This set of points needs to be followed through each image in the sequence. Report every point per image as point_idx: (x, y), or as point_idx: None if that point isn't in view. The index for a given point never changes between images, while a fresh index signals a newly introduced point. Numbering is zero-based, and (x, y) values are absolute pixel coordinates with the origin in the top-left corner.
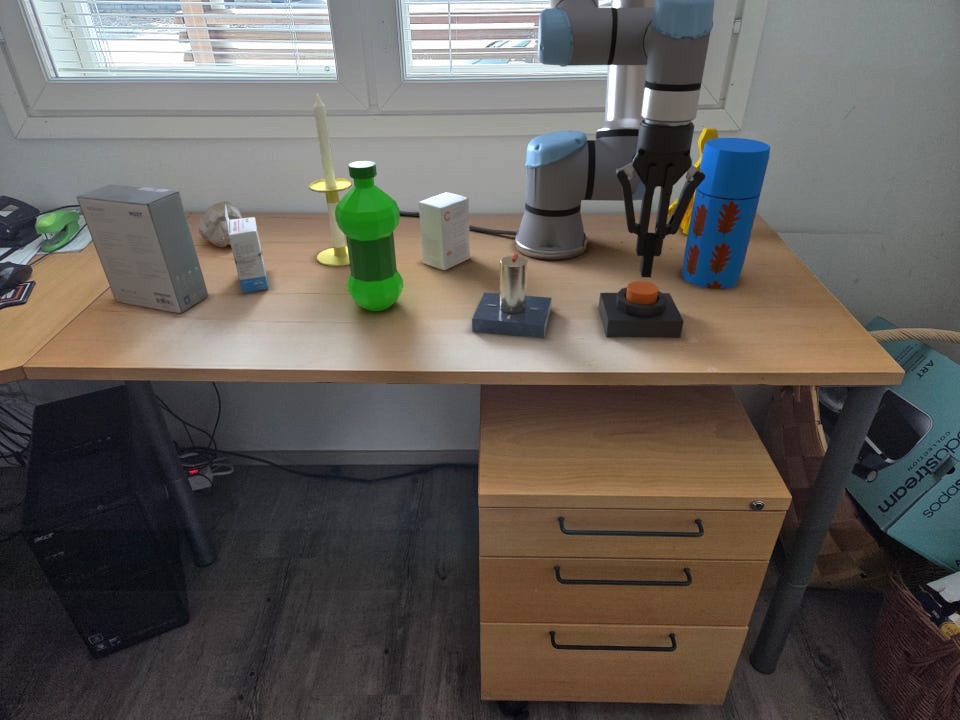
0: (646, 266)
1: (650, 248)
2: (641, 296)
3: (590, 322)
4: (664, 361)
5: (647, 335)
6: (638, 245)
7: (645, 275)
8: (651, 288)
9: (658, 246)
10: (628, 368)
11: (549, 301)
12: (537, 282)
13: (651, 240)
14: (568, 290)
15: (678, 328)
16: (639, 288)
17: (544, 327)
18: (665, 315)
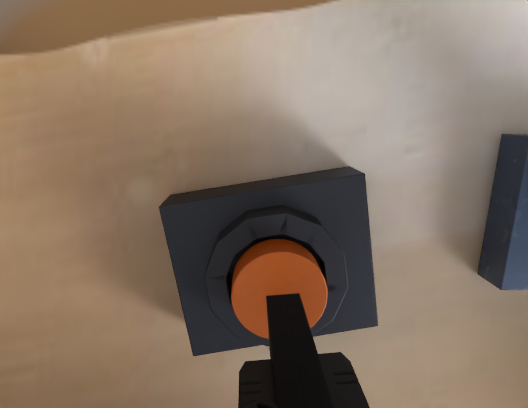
0: (291, 317)
1: (296, 371)
2: (284, 248)
3: (384, 233)
4: (211, 73)
5: (250, 183)
6: (356, 387)
7: (286, 297)
8: (253, 294)
9: (257, 395)
10: (301, 22)
11: (507, 268)
12: (500, 400)
13: (304, 404)
14: (429, 376)
15: (173, 199)
16: (291, 287)
17: (524, 136)
18: (207, 228)
